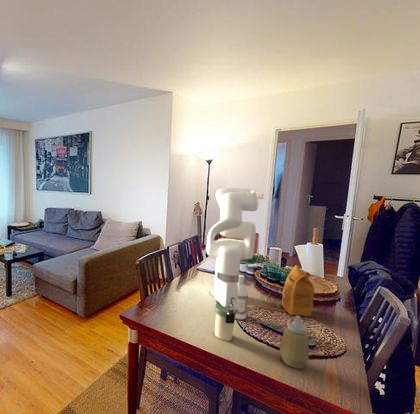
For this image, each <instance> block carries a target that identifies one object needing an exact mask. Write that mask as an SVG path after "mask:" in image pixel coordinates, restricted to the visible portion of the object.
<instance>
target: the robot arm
mask: <svg viewBox="0 0 420 414" xmlns="http://www.w3.org/2000/svg"><path fill="white" fill-rule="evenodd" d="M215 199H216V202H217V204H218V207H219V210H220V212H219V213H220V215H219V220H218V222H216V223H215V224H213V225H212V226H211V228H210V229H209V231H208V232H207V238H206V247H205V251H206V255H207V256H208V257H210V258H213V259H215V270H214V282H213V288H212V289H210V294H211V295H212V296H213V297H214V299H215V305H216V304H218V303H220V304H221V305H223V306H224V307H226V309H227V313H226V320H225V322H226V323H231V324H233V325H234V324H235V321H236V320H235V319H236V318H235V315H236V313H237V311H238V310H239V309H238V307H237V303H238V284H237V283H238V282H239V275H240V269H241V261H242V260H251V259H253V257H254V253H255V244H256V234H257V233H256V230H257V229H256V224H255V223H254V221H252V220H246V219H245V220H244V219H243V211H244V212H256V211H257V210H258V209H259V205H260V198H259V194H258V191H257V190H256V189H255V188H240V187H239V188H236V187H223V188H222V187H221V188H219V189H217V190H216V192H215ZM218 234H220V235H221V236H222V237H226V238H218V239H217V240H215V237H216V236H217V235H218ZM240 239H241V240H240ZM229 305H232V306H229ZM229 308H232V310H229Z"/></svg>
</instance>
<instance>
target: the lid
mask: <svg viewBox="0 0 420 414" xmlns="http://www.w3.org/2000/svg"><path fill="white" fill-rule="evenodd" d="M229 306H231V305H229ZM229 310H232V308H229ZM214 313H215V315H216V314H218V315H219V316H222V317H225V318H226V313H227V309H226V307H224V306H223V305H221V304H220V303H218V304H216V303H215V305H214ZM235 316H236V315H235Z"/></svg>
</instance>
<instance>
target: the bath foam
mask: <svg viewBox="0 0 420 414" xmlns="http://www.w3.org/2000/svg"><path fill="white" fill-rule="evenodd" d="M237 284H238V303H237V307H238V309H239V310H238V311H237V313H236V316H235V319H236V320H245V319H246V318H247V311H248V302H249V301H248V300H249V290H248V288H247V286H246V285H245V275H244V274H243V275H242V274H239V282H238V283H237ZM231 306H232V305H231Z"/></svg>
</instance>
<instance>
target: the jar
mask: <svg viewBox="0 0 420 414" xmlns="http://www.w3.org/2000/svg"><path fill="white" fill-rule="evenodd" d="M225 320H226V318H225V317H222V316H219V315H218V314H216V313H215V321H214V322H215V323H214V324H215V325H214V335H215V337H216V338H218V339H219V340H221V341H231V340H233V336H234V324H231V323H226V322H225Z"/></svg>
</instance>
